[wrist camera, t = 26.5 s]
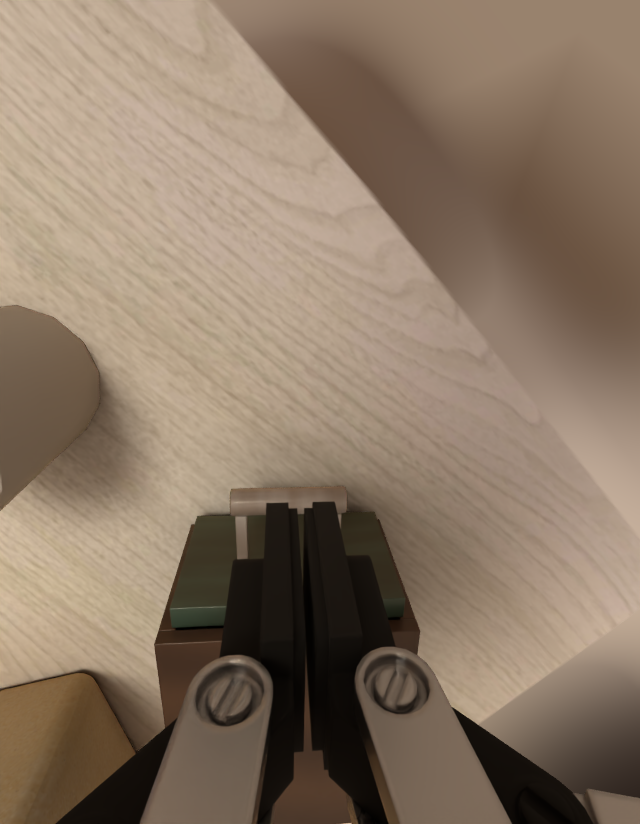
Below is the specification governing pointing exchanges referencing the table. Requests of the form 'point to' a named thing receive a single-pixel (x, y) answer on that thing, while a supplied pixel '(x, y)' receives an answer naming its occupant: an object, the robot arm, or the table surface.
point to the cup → (40, 394)
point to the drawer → (245, 539)
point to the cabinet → (312, 787)
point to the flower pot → (55, 747)
